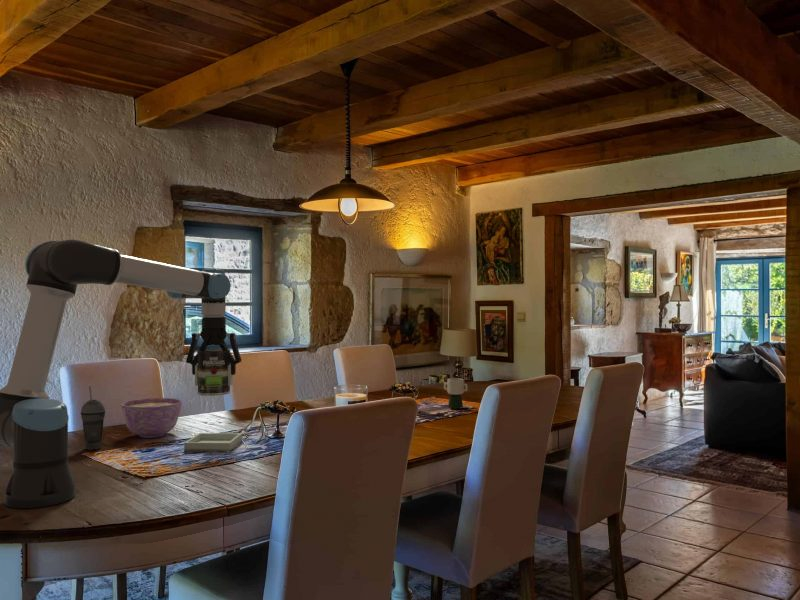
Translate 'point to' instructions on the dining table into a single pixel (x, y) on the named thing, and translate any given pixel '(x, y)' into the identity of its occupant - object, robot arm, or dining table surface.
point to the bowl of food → (151, 416)
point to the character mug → (455, 391)
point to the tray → (213, 442)
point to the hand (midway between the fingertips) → (214, 384)
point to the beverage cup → (93, 422)
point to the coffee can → (213, 372)
